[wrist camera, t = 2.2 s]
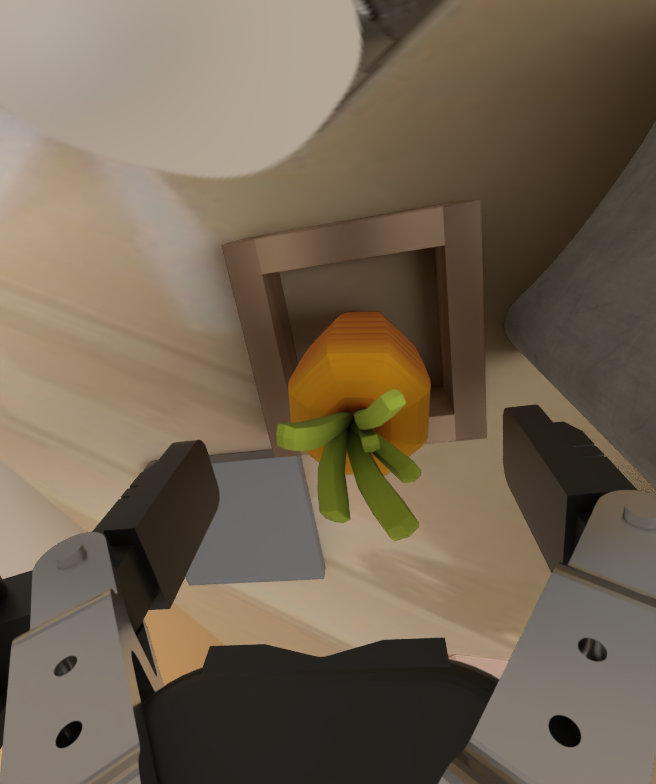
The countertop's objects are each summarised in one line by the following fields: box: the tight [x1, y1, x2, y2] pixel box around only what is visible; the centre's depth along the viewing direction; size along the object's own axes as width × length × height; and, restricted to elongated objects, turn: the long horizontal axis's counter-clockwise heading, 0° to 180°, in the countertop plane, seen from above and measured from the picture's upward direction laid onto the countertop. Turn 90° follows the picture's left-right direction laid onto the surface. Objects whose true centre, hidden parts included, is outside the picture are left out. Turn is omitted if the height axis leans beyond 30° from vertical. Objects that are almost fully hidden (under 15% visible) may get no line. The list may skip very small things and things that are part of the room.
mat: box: [144, 450, 325, 585], centre depth 29 cm, size 10×10×1 cm
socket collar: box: [222, 200, 487, 458], centre depth 22 cm, size 11×11×4 cm
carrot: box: [276, 311, 431, 541], centre depth 17 cm, size 5×5×15 cm
